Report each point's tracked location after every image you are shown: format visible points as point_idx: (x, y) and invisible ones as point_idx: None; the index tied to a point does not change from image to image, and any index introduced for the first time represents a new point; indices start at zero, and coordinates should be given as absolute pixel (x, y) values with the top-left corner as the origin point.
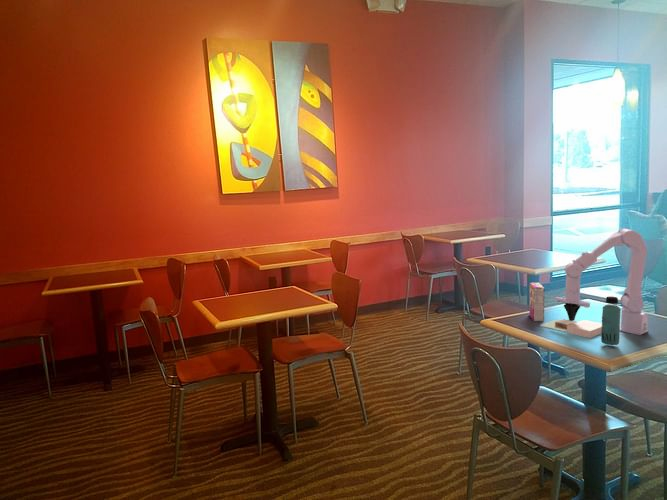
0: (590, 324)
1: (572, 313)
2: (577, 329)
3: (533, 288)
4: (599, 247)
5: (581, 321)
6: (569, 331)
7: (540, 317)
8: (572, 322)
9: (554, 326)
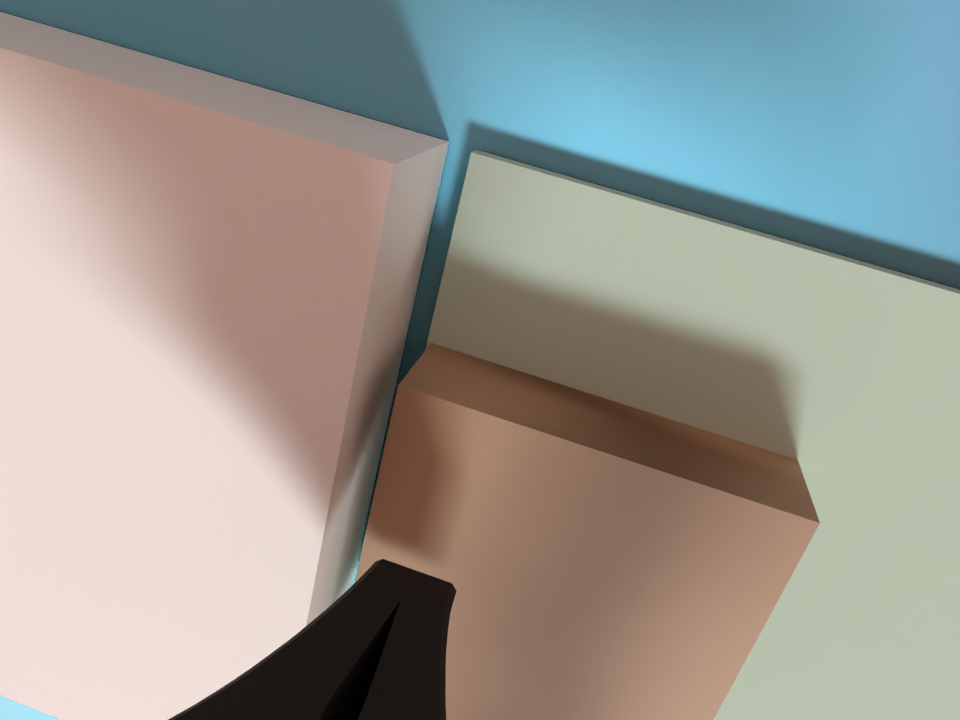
0: (50, 545)
1: (238, 692)
2: (119, 76)
3: None
4: None
5: None
6: (370, 124)
7: None
8: None
9: (807, 433)
